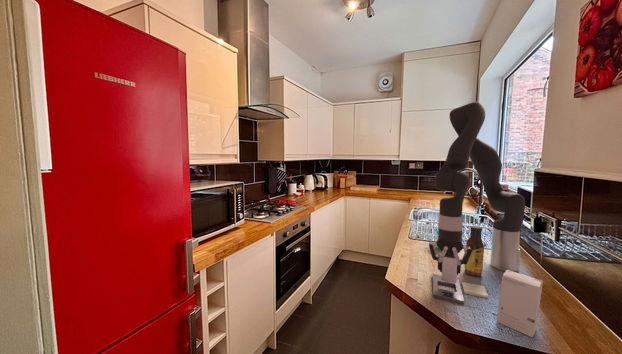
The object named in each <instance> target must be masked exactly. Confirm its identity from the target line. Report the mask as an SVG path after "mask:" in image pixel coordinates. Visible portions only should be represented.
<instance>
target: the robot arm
mask: <svg viewBox="0 0 622 354" xmlns="http://www.w3.org/2000/svg"><path fill="white" fill-rule="evenodd" d="M485 118H486V110H485V107H484V105H483V104H482V103H481V102H479V101H472V102H470V103H467V104H463V105H461V106H459V107H456V108H454V109H452V110H451V111H450V112H449V120H450V124H451V126H452V129H454V131H455V133H456V135H457V137H456V138H455V140H454V141H453V142H452V143H451V145H450V147H449V149H448V151H447V155H446V158H445V161H444V163H443V164H442V166H441V167H440V169H439V170H438V172H437V173H436V175H435V177H434V186H435V188H436V189H437V190H438V191H441V192H451V193H455V195H454V196H450V197H443V198H441V199H440V201H439V214H438V215H439V216H438V224H437V225H438V226H437V230H438V235H437V240H436V242H432V241H429V242H428V246H429V247H428V248H429V251H430V254H431V258H432V260H434V261H436V262H437V269H438V271H439V272H440V273H441V272H442V257H443V256H445V255H452V256H455V258H457V276H458V275H459V274H461V271H462V270H461V269H462V265H464V266H465V265H466V264H467V262H468V260H469V258H470V255H471V253H472V250H471V248H470V247H466V245H464V244H463V229H464V225H463V223H464V222H463V205H464V200H465V196H466V195H467V194H466V193H467V191H468V188H469V186H470V182H471V179H470V177H469V175H468V174H467V173H466V172H462V171H464V170H466V169H467V167H468V164H469V161H471V163H472V166H473V167H474V169H475V171H476V173H477V175H478V177H479V179H480V180H479V181H481V183H482V186H483V188H484V191H485V195H486V198H487V201H488V203H489V206H490V207H491V209H493V210H494V211H496V212H499V213H503V214H504V215H503V217H502V218H501V219H496V220H493V222H492V234H491V235H492V236H491V247H490V248H491V251H490V266H491V267H493V268H494V269H497V270H500V271H504V272H505V271H506V270H510V271H513V272H516V273H519V272H520V265H521V255H522V254H521V253H522V252H521V251H522V250H521V249H520V240H521V239H520V238H521V237H520V236H521V227H522V225H523V224H524V217H525V209H526V201H525V197H524V196H523V195H522V194H520V193H516V192H512V191H511V192H510V191H505V190H504V189H503V187H502V185H501V183H500V175H501V173H502V168H503V163H502V160H501V159H500V156H499V154H498V151H497V150H496V149H495V148H494V147H493V146H492V145H490V144H488V143H487V142H485V141H483V140H482V139H480V138H478V135H479V133H480V131H481V130H482V129H481V128H482V127H483V125H484V122H485V120H486V119H485ZM436 246H438V248H439V254H438V255H436V254H437V253H436V252H435V249H438V248H437V247H436ZM462 250H463V252H464V254H463V256H462V258H461V259H460V257H459V253H460V252H461V251H462Z"/></svg>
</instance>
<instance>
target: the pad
mask: <svg viewBox="0 0 622 354" xmlns="http://www.w3.org/2000/svg"><path fill="white" fill-rule="evenodd" d="M461 286H462V287H461V288H462V290H463V291H462V292H463V293H464V294H465V295H469V296H475V297H479V298H484V299H489V295H488V293H487V290H486V288H485V286H484V285H480V284H474V283H469V282H464V281H461Z"/></svg>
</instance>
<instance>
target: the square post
mask: <svg viewBox="0 0 622 354" xmlns="http://www.w3.org/2000/svg"><path fill="white" fill-rule="evenodd" d="M440 273H441V274H440V275H441V277H442V281H446V282H452V283H456V281H457V276H458V275H457V258H455V256H452V255H445V256H443V257H442V272H440Z"/></svg>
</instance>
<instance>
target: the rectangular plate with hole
mask: <svg viewBox="0 0 622 354" xmlns="http://www.w3.org/2000/svg"><path fill="white" fill-rule="evenodd" d="M431 275H432V277H431V278H432V291H433V299H437V300H442V301H446V302H450V303H454V304H455V303H456V304H460V305H465V299H464V296H463V291H462V287H461V282H460V279H459V278H457V281H456V283H452V282H446V281H442V277H441V274H436V273H432V274H431ZM439 285H444V286H448V287H454V289H455V291H453V290H448V289H443V288H439Z"/></svg>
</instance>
